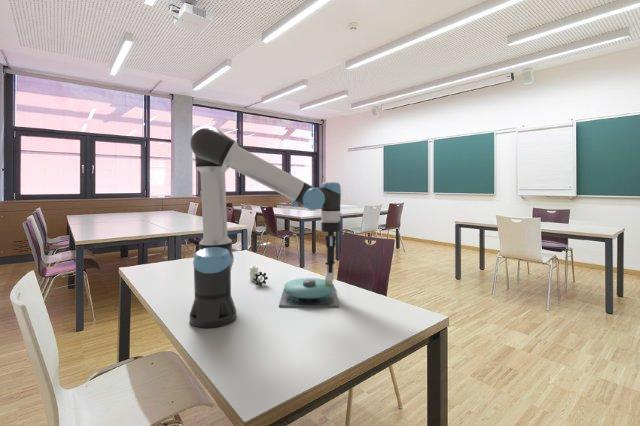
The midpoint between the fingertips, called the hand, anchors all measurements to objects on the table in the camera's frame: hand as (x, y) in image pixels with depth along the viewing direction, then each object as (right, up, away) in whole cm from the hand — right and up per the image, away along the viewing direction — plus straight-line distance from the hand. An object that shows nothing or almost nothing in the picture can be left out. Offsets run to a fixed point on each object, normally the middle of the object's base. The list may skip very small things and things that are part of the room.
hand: (330, 280), depth 133 cm
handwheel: (-8, -4, +2) cm, 10 cm away
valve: (-33, -6, +21) cm, 40 cm away
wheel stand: (-8, -7, +2) cm, 11 cm away
